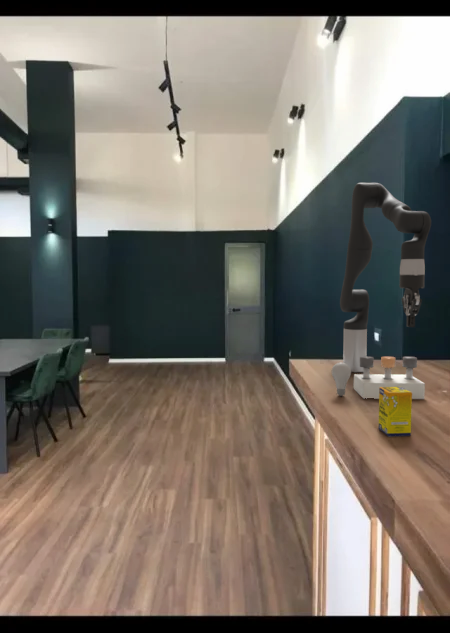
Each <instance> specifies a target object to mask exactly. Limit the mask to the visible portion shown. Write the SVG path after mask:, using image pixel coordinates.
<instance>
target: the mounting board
mask: <svg viewBox="0 0 450 633" xmlns="http://www.w3.org/2000/svg"><path fill="white" fill-rule="evenodd" d="M425 386H426V383H425V382H423V381H422V380H420V379H418V378H416V377H415V376H413V380H406V374H392V373H391V380H385V373H383V374H382V373H381V374H378V373H377V374H376V373H374V374H372V373H371V374H370V375H369V379H363V373H361V374H360V373H359V374H358V373H357V374H356V373H355V374H353V390H355V392H356V393H357V394H358V395H359V396H360V397H362V399H365V398H366V399H367V398H374V399H375V400H376V399H377V400H379V387H402V388H404V389H406V390H408V391H410V392H412V400H425V390H426V389H425ZM367 400H368V399H367Z"/></svg>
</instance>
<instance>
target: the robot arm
mask: <svg viewBox="0 0 450 633" xmlns="http://www.w3.org/2000/svg"><path fill="white" fill-rule="evenodd" d="M351 195H352V197H351V213H350V214H351V215H350V216H351V219H350V227H349V228H350V230H349V238H348V242H347V251H346V261H345V262H346V263H345V270H344V276H343V281H342V288H341V291H340V292H341V293H340V297H339V298H340V299H339V307H340V309H341V312H343V313H356V315H355V316H354V317H352V318H351V319H347V320H345V321H344V322H343V351H342V352H343V354H342V358H343V359H342V363H345V364H347V365H348V366H349V367H350V369H351V373H363V367H360V357H362V356H367V352H368V350H367V348H368V347H367V346H368V344H367V342H368V339H367V338H368V336H367V335H368V333H367V332H368V322H369V308H370V295H369V293H368V290H366V289H354V286H355V283H356V281H357V279H358V277H359V276H360V275H361V274H362V273H363V271H365V269H366V267H367V266H368V264H369V263H370V261H371V259H372V252H373V245H374V243H373V238H372V236H371V234H370V232H369V230H368V228H367V226H366V223H365V220H364V219H365V218H364V212H365V211H364V210H365V209H374V208H375V209H376V208H379V209H381V212H382V215H383V217H385V218H386V219H387V220H389V221H390V222H392V223H393V225H394V227H395V228H396V230H397V231H398V232H400V233H403V234H414V235H413V237H412V239H410V240H406V241H404V242H402V243H401V248H400V251H401V252H400V264H399V288H400V289H404V293H403V297H401V304H402V307H403V312H404V313H405V316H406V327H408V328H415V326H416V316H417V315H418V314H419V312H420V309H421V306H422V302H423V300H422V298H420V297H421V296H420V289H425V277H426V276H425V275H426V274H425V270H426V268H425V267H426V266H425V247H426V242H427V239H428V235H429V233H430V230H431V226H432V219H431V216H430V214H429V213H428V212H427V211H424V210H417V211H416V210H412V209H411V207H410V206H409V205H407V204H405V203H404V202H402V201H400V200H399V199H397V198H396V197H394V195H393V194H392V193H391V192H390V191H389V190H388V189H387V188H386V187H385V186H384V185H383V184H381V183H380V182H379V183H378V182H358V183H356V184H355V186H354V188H353V190H352V194H351Z"/></svg>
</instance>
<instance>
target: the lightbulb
mask: <svg viewBox="0 0 450 633" xmlns="http://www.w3.org/2000/svg"><path fill="white" fill-rule="evenodd" d="M351 375H352V372H351V369H350V367H349V366H348V365H347V364H345V363H343V361H342V362H340V361H339V362H336V363H335V364H334V365H333V366H332V368H331V376H332V378H333V380H334V382H335V389H336V394H337V396H339V397H343V396H344V395H346V388H347V383H348V380H350V377H351Z"/></svg>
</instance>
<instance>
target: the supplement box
mask: <svg viewBox="0 0 450 633" xmlns="http://www.w3.org/2000/svg"><path fill="white" fill-rule="evenodd" d="M412 402H413V399H412V392H410V391H408V390H406V389H404V388H402V387H379V399H378V430H379V431H381V432H382V433H384V435H385V436H387V437H388V438H391V437H410V436H412V408H413V407H412V406H413V403H412Z"/></svg>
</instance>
